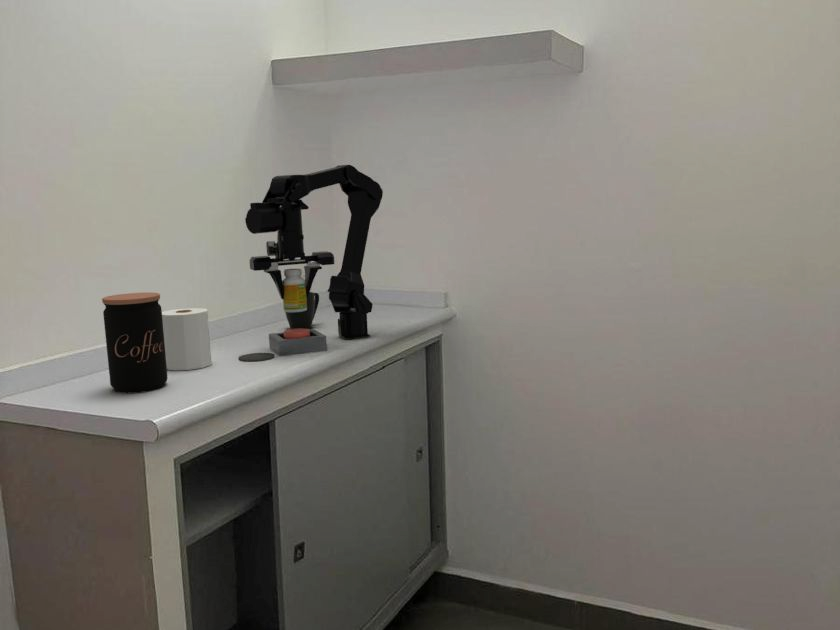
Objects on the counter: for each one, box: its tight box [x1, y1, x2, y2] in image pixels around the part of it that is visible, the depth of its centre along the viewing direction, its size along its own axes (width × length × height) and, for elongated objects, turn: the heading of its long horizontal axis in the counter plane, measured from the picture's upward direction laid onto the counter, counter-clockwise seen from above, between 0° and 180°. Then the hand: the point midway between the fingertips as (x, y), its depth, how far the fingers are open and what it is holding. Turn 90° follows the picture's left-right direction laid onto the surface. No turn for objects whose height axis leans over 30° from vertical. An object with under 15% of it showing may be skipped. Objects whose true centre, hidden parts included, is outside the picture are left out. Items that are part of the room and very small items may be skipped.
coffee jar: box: [101, 292, 168, 394], centre depth 162 cm, size 11×11×18 cm
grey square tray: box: [268, 328, 328, 357], centre depth 195 cm, size 11×11×4 cm
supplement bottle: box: [282, 268, 307, 312], centre depth 193 cm, size 5×5×10 cm
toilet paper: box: [162, 307, 213, 371], centre depth 181 cm, size 10×10×12 cm
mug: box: [284, 291, 320, 330], centre depth 226 cm, size 8×12×10 cm
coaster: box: [238, 352, 276, 363], centre depth 187 cm, size 8×8×1 cm
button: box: [283, 328, 311, 339], centre depth 195 cm, size 6×6×2 cm
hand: (294, 297), depth 193 cm, fingers closed on supplement bottle, 5 cm apart
